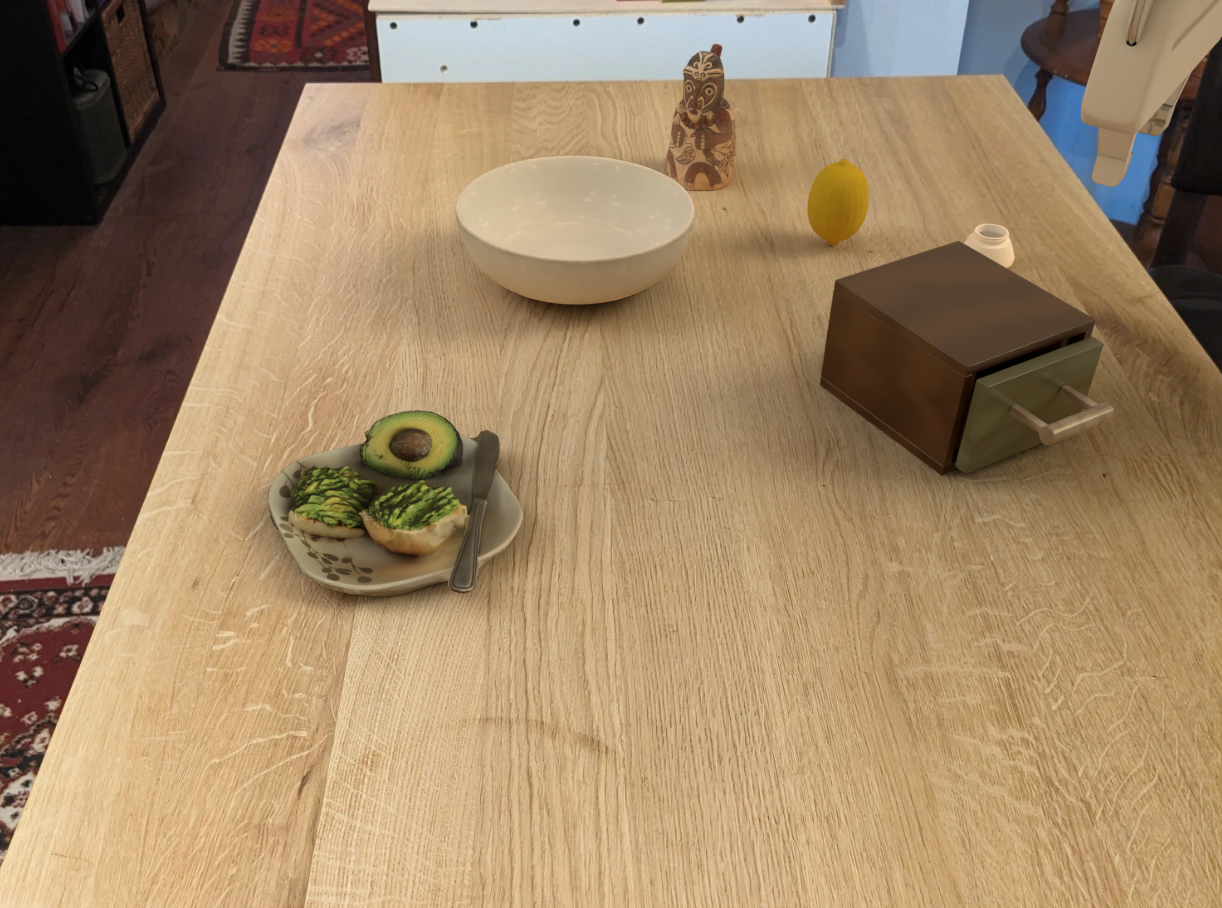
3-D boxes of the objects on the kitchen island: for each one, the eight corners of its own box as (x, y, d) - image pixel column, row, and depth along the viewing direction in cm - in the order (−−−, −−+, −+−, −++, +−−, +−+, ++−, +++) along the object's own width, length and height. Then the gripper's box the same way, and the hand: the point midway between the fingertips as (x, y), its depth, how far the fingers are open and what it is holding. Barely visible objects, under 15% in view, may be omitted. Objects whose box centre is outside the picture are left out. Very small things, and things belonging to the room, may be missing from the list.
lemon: (845, 227, 123) (858, 143, 117) (871, 253, 119) (886, 168, 114) (793, 236, 122) (803, 151, 116) (817, 262, 118) (829, 176, 112)
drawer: (1121, 458, 95) (1153, 371, 90) (1009, 506, 91) (1035, 418, 86) (955, 350, 106) (975, 266, 100) (848, 389, 102) (862, 304, 96)
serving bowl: (652, 353, 107) (655, 276, 102) (423, 312, 111) (416, 236, 106) (717, 244, 120) (722, 171, 115) (510, 212, 125) (507, 140, 120)
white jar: (1023, 262, 118) (978, 244, 121) (1030, 232, 116) (985, 213, 119) (991, 280, 116) (946, 260, 118) (998, 249, 114) (952, 230, 116)
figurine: (652, 179, 130) (656, 53, 122) (689, 155, 134) (695, 32, 126) (712, 196, 128) (721, 69, 119) (747, 172, 132) (758, 47, 123)
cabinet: (1063, 426, 100) (1096, 319, 93) (941, 475, 95) (967, 366, 88) (936, 343, 108) (958, 240, 102) (819, 384, 104) (834, 279, 97)
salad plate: (580, 580, 87) (580, 525, 83) (323, 651, 82) (312, 596, 78) (483, 431, 99) (479, 378, 95) (255, 485, 94) (242, 432, 91)
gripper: (1214, -32, 66) (1130, 228, 76) (1301, -118, 78) (1218, 116, 88) (1094, -53, 68) (1027, 201, 78) (1196, -134, 80) (1127, 96, 90)
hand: (1129, 155), depth 83 cm, fingers open, 8 cm apart
